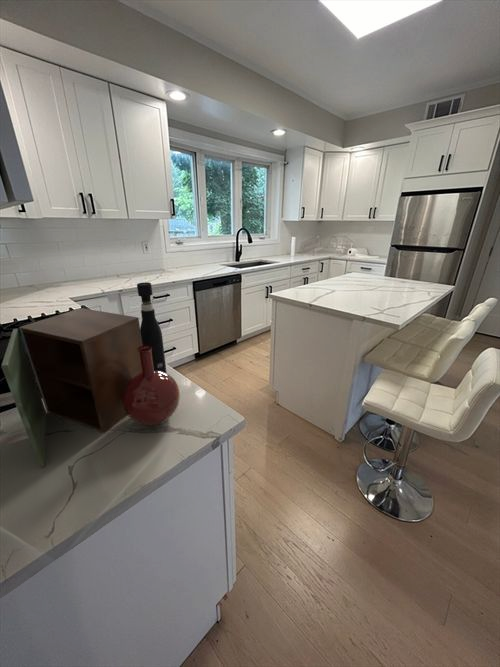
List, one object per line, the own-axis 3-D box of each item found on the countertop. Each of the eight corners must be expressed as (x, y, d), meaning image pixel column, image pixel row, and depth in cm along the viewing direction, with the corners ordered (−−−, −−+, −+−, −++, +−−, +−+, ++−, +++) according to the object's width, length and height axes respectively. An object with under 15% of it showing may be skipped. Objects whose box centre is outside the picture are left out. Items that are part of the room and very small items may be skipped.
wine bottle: (151, 369, 93) (139, 280, 81) (170, 371, 92) (159, 281, 81) (142, 379, 87) (127, 285, 76) (161, 381, 86) (149, 286, 75)
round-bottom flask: (165, 442, 63) (154, 365, 55) (115, 432, 66) (98, 357, 58) (190, 407, 75) (184, 339, 67) (147, 399, 78) (137, 334, 70)
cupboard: (104, 433, 65) (82, 341, 56) (47, 412, 72) (18, 327, 63) (150, 396, 79) (138, 317, 70) (98, 381, 86) (81, 307, 77)
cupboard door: (0, 483, 53) (-51, 376, 44) (11, 423, 68) (-25, 334, 59) (45, 466, 56) (7, 364, 47) (46, 413, 72) (17, 328, 63)
